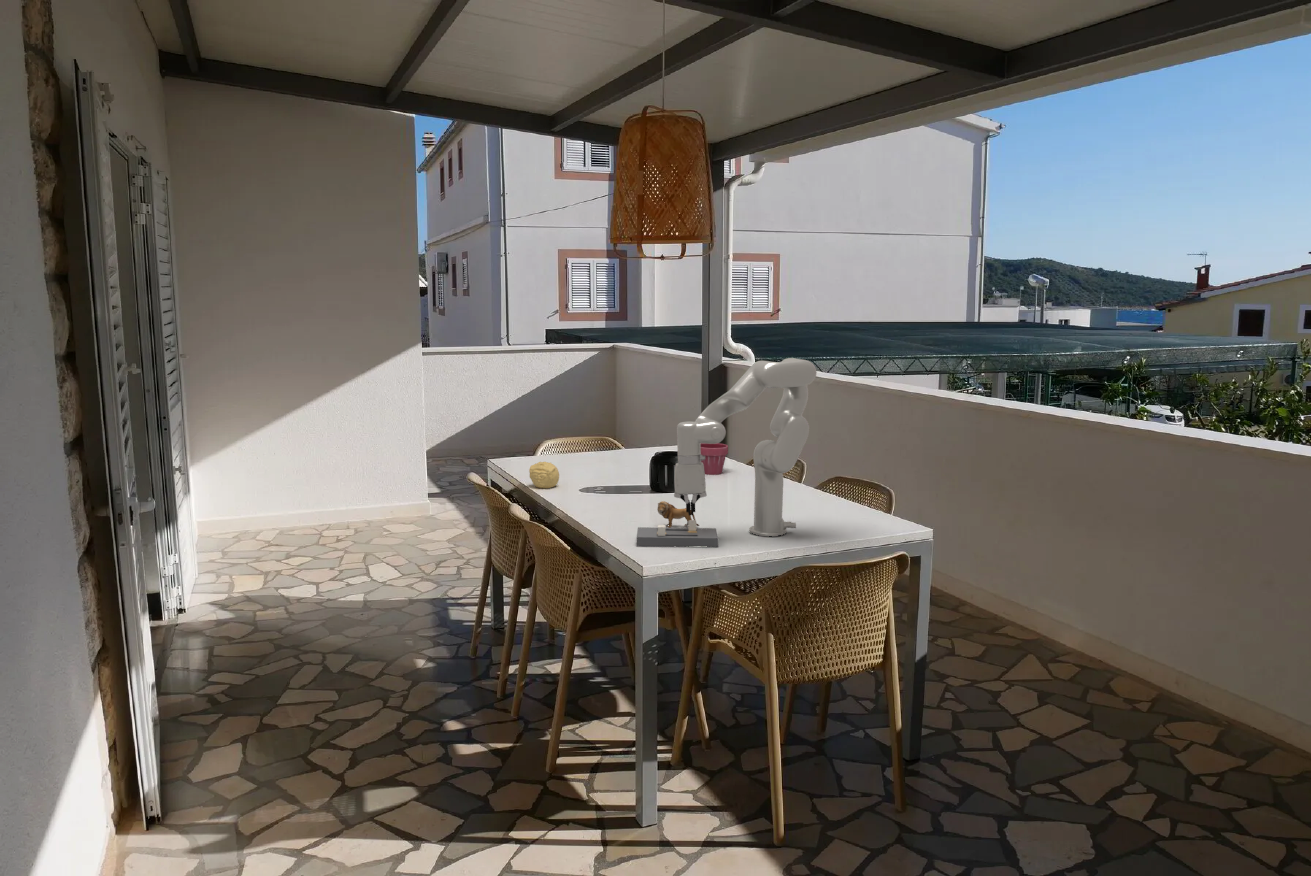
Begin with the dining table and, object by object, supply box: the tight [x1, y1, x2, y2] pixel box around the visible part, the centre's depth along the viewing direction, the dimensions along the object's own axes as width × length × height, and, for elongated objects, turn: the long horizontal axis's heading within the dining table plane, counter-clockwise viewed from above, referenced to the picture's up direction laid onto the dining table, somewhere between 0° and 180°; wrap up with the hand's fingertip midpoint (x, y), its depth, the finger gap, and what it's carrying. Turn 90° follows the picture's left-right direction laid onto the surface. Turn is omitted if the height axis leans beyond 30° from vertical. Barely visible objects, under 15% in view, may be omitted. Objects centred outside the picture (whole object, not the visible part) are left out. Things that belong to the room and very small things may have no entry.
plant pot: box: [700, 442, 729, 476], centre depth 428 cm, size 14×14×13 cm
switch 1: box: [657, 524, 667, 536], centre depth 306 cm, size 2×3×4 cm
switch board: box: [636, 526, 719, 548], centre depth 309 cm, size 26×13×3 cm, turn 89°
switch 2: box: [687, 519, 697, 531], centre depth 312 cm, size 2×3×4 cm
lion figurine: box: [656, 500, 700, 528], centre depth 329 cm, size 15×5×9 cm, turn 88°
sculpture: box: [528, 461, 560, 489], centre depth 394 cm, size 12×12×11 cm
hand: (690, 514), depth 312 cm, fingers closed
